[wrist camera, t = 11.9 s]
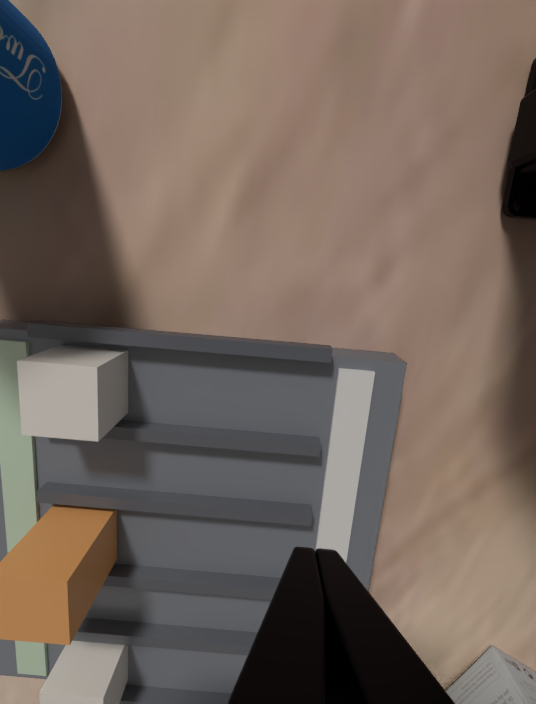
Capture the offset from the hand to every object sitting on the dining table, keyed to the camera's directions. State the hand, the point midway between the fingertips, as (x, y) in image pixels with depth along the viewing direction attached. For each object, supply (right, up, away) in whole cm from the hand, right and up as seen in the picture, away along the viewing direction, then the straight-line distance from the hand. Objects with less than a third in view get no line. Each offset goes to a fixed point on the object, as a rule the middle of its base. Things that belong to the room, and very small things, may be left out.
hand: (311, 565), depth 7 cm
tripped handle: (-10, -5, +11) cm, 16 cm away
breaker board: (-5, -5, +13) cm, 15 cm away
